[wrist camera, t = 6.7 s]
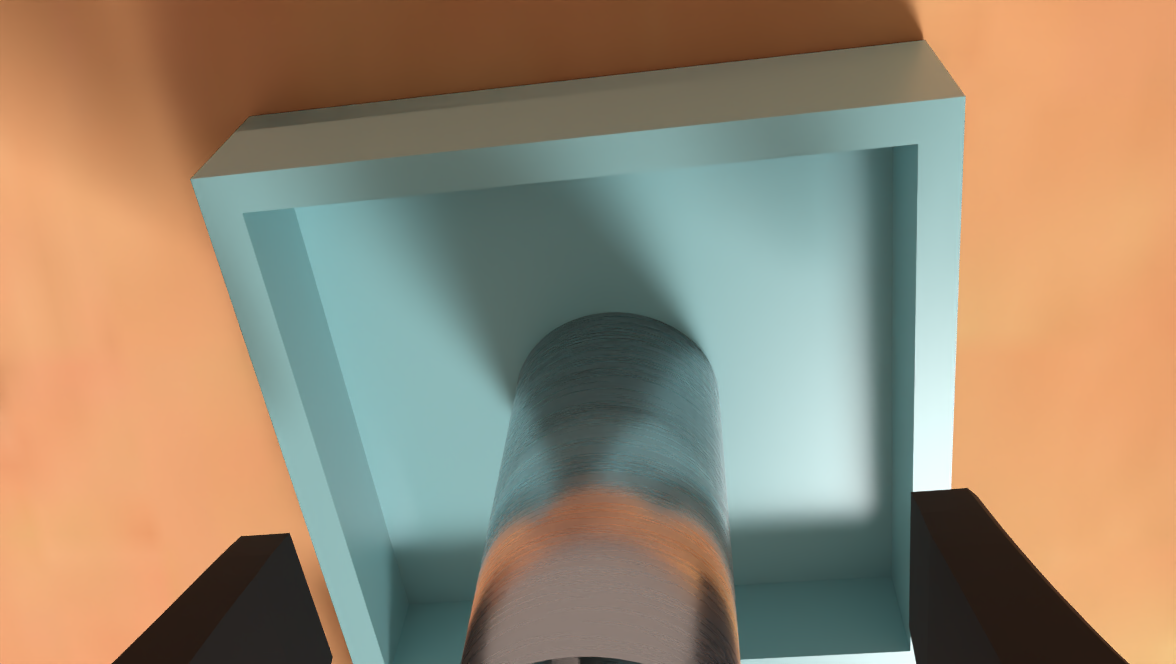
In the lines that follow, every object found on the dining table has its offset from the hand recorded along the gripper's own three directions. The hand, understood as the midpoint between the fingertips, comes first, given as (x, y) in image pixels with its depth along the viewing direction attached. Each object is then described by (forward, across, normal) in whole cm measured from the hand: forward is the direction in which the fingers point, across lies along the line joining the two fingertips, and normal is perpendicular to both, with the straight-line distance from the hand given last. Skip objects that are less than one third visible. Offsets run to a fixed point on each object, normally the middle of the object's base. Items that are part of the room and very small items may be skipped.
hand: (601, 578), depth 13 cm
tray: (+5, 0, 0) cm, 5 cm away
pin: (+4, 0, 0) cm, 4 cm away
